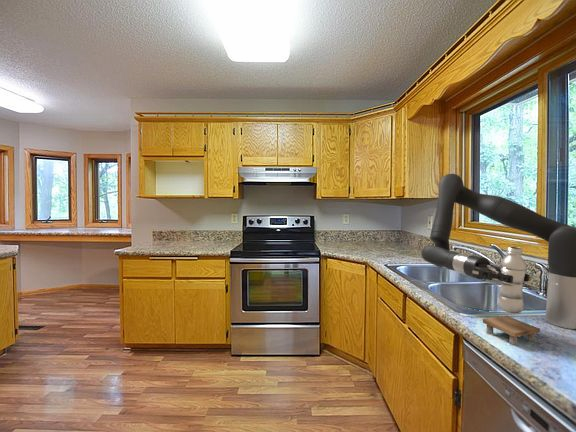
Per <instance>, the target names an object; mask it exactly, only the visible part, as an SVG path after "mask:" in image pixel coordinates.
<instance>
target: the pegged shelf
mask: <svg viewBox="0 0 576 432" xmlns="http://www.w3.org/2000/svg"><path fill="white" fill-rule="evenodd" d="M482 323H483V324H485V325H486V334H487V335H494V329H496V330H498V331H499V332H503V333H505V334H507V335H509V343H508V344H509V345H511V346H514V347H516V346H518V337H523V336H524V337H525V336H526V341H527V342H530V343H536V334H539V333H541V328H540V327H537V326H533V325H532V324H529V323H527V322H524V321H521V320H519V319H516V318H514V317H512V316H511V317H510V316H508V315H502V316H496V317H495V316H494V317H488V318H483V319H482Z"/></svg>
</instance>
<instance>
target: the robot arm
mask: <svg viewBox="0 0 576 432" xmlns="http://www.w3.org/2000/svg"><path fill="white" fill-rule="evenodd" d="M455 204H458V205H460V206H463V207H466V208H468V209H471V210H472V211H474V212H476V213H479V214H481V215H483V216H484V217H486V218H488V219H489V220H492V221H494V222H497V223H498V224H501V225H503V226H506V227H509V228H512V229H514V230H518V231H521V232H525V233H528V234H531V235H533V236H536V237H538V238H540V239H541V240H544V241H545V242H547V243H548V248H547V249H548V251H547V265H548V274H547V291H546V293H547V294H546V307H545V321H546V322H548V323H549V324H552V325H553V326H556V327H560V328H564V329H569V330H576V226H572V225H569V224H567V223H564V222H560V221H557V220H554V219H551V218H548V217H546V216H544V215H542V214H540V213H537V212H536V211H534V210H532V209H530V208H528V207H526V206H525V205H522V204H519V203H518V202H515V201H513V200H511V199H508V198H505V197H502V196H499V195H494V194H485V193H479V192H476V191H474V190H472V189H470V188H469V187H466V186H465V185H464V181H463V179H462V178H461V176H460V175H458V174H457V173H447V174H445V175H443V176H442V177H441V178H440V179H439V182H438V199H437V205H436V211H435V215H434V219H433V223H432V227H431V231H430V235H429V238H430V240H431V241H432V242H433V244H431V245H429V244H428V245H426V246H424V247H423V248H422V250H421V257H422V259H423V260H424V261H426V263H428V264H431V265H432V266H433V265H434V266H436V267H438V268H442V267H443V268H446V269H447V270H451V271H454V272H456V273H460V274H461V275H464V276H467V277H471V278H474V279H477V280H488V281H492V280H494V281H500V282H501V281H504V282H507V283H513V276H511V275H507V274H503V273H501V266H500V265H498V264H493V263H492V264H491V262H490V260H488V259H487V258H486V257H482V256H478V255H475V254H469V253H463V252H458V251H452V250H451V249H450V237H451V232H452V227H453V219H454V209H455ZM530 278H531V277H530V274H529V273H525V277H524V281H523V282H529V281H530Z"/></svg>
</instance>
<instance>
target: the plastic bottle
mask: <svg viewBox="0 0 576 432" xmlns="http://www.w3.org/2000/svg"><path fill="white" fill-rule="evenodd" d="M505 253H506V255H505V256H504V257H503V258H502V259H501V262H500V265H499V266H501V273H503V274H507V275H511V276H513V283H507V282H504V281H500V283H501V284H500V289H499V294H498V297H497V300H496V302H497V306H498V308H499V310H501V311H503V312H505V313H510V314H520V313H522V312H523V310H524V306H525V305H524V297H523V296H524V294H523V290H524V289H523V287H524V285H523V284H524V282H525V281H524V277H525V274H527V273H526V272H527V268H528V266H527V263H526V261H525V260H524V258H523V257H522V255H523V249H522V248H521V247H517V246H507V247H506V252H505Z"/></svg>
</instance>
